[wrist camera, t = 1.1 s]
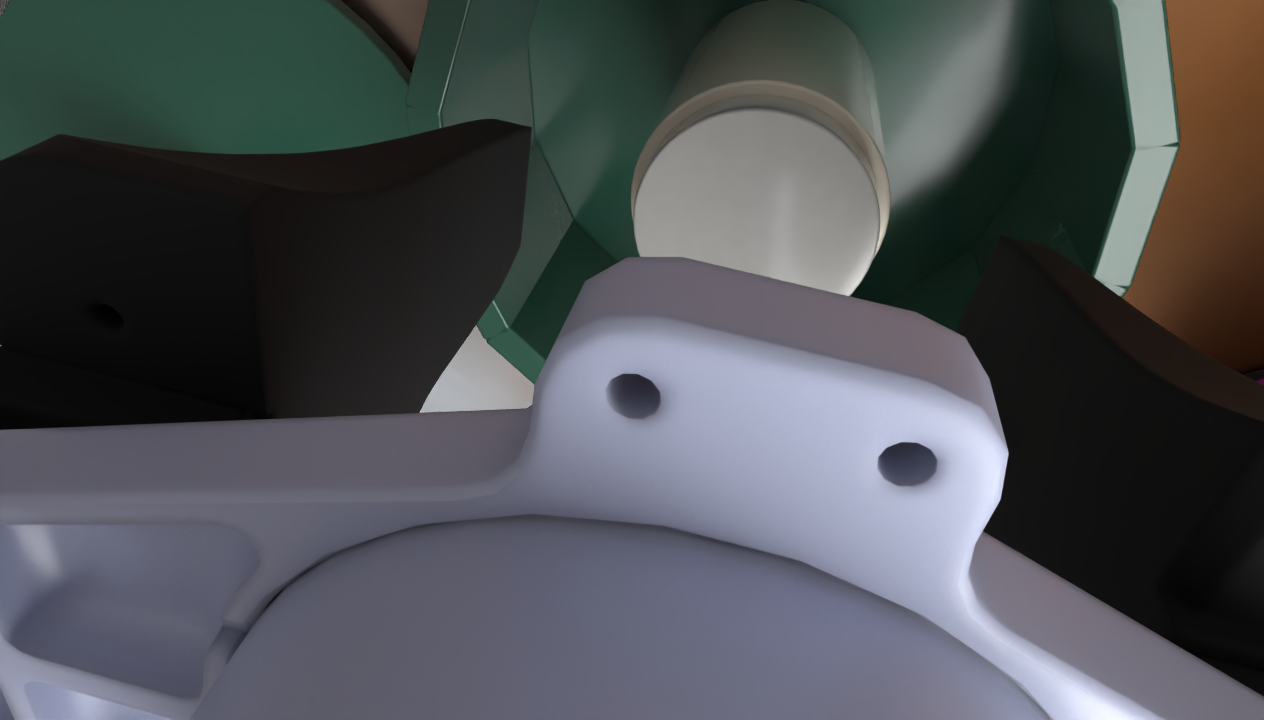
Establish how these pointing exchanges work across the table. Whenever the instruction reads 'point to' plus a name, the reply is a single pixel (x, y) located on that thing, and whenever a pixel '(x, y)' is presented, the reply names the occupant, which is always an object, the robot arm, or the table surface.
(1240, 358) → the table surface
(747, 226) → the salt shaker
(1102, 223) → the pot
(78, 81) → the lid
